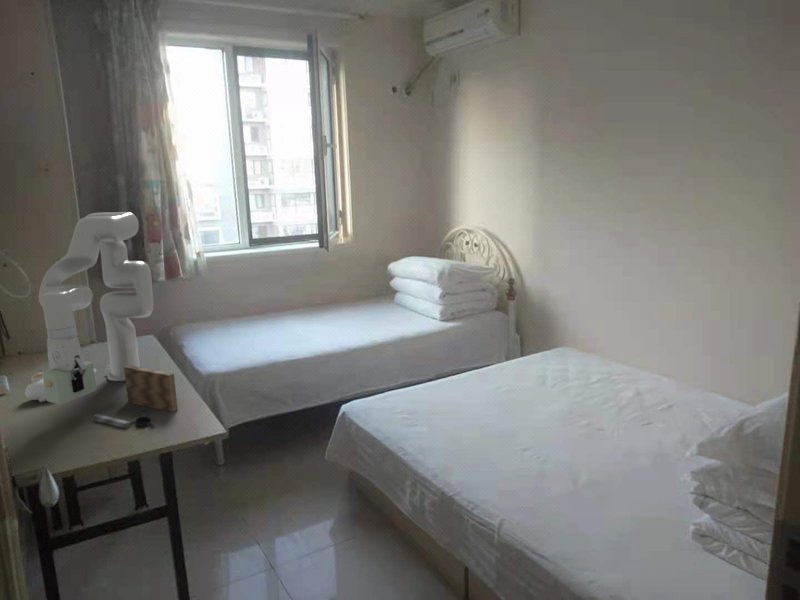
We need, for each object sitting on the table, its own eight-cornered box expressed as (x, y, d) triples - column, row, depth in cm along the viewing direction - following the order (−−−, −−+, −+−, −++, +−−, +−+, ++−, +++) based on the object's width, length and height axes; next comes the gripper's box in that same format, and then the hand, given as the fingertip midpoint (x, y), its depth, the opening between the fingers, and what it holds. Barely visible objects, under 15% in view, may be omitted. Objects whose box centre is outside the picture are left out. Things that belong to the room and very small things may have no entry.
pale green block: (43, 402, 172) (38, 373, 170) (84, 386, 183) (79, 359, 181) (56, 406, 169) (51, 376, 167) (96, 390, 181) (92, 362, 178)
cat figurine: (19, 376, 188) (70, 361, 197) (19, 383, 194) (68, 368, 203) (30, 403, 186) (80, 387, 196) (29, 409, 193) (78, 393, 202)
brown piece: (87, 418, 177) (82, 381, 174) (133, 400, 191) (129, 365, 189) (133, 430, 168) (128, 390, 165) (177, 409, 182) (173, 373, 180)
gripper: (31, 332, 172) (41, 389, 177) (69, 339, 165) (78, 398, 169) (55, 325, 179) (64, 380, 183) (93, 332, 171) (101, 389, 176)
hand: (71, 388), depth 176 cm, fingers closed on pale green block, 6 cm apart
